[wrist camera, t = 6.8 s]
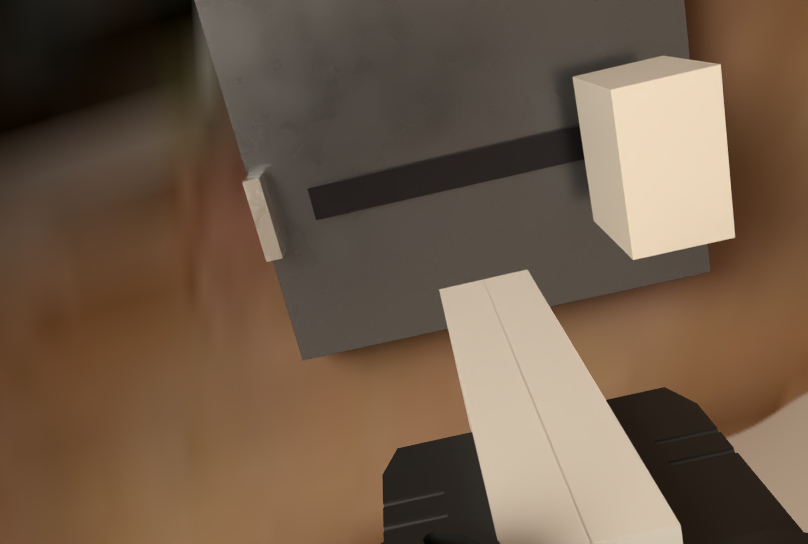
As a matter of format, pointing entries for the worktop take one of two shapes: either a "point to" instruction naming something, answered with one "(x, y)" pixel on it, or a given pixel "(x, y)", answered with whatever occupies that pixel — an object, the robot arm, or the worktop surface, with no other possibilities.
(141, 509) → the worktop surface
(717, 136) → the block
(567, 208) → the console
